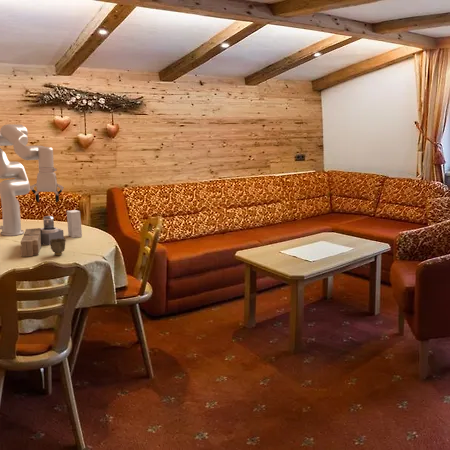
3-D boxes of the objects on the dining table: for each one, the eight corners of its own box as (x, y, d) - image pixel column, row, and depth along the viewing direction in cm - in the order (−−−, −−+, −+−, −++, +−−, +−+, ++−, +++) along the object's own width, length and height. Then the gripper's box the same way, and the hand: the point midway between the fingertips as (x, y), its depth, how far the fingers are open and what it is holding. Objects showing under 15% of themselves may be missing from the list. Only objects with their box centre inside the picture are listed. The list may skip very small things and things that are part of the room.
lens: (44, 230, 278) (44, 215, 276) (54, 230, 278) (54, 215, 277) (42, 232, 272) (42, 217, 270) (53, 232, 273) (52, 217, 271)
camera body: (35, 243, 273) (34, 230, 271) (50, 239, 284) (49, 226, 282) (49, 245, 270) (48, 231, 268) (63, 240, 281) (63, 227, 279)
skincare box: (82, 237, 290) (81, 211, 288) (71, 238, 287) (70, 212, 284) (77, 234, 297) (76, 209, 294) (67, 235, 294) (66, 210, 291)
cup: (52, 253, 253) (51, 237, 252) (67, 253, 254) (67, 237, 252) (48, 257, 246) (48, 241, 244) (64, 257, 247) (63, 241, 245)
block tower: (38, 257, 247) (42, 242, 275) (37, 240, 246) (41, 227, 273) (21, 258, 245) (26, 242, 273) (20, 241, 243) (25, 227, 271)
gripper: (64, 169, 274) (65, 201, 278) (30, 169, 271) (31, 200, 275) (62, 171, 267) (63, 203, 270) (27, 170, 264) (29, 203, 267)
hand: (47, 202), depth 273 cm, fingers open, 9 cm apart
